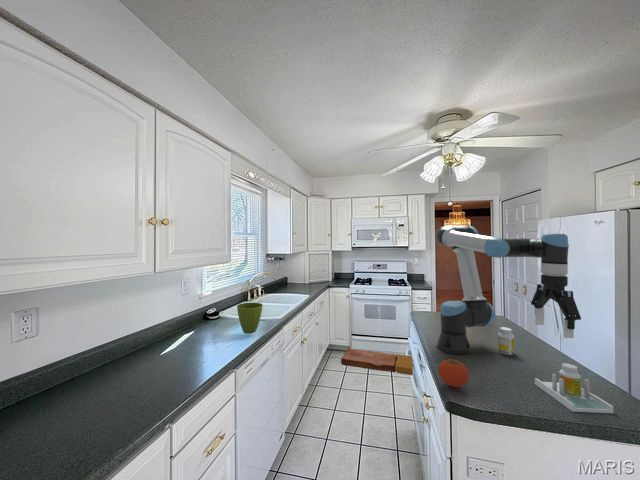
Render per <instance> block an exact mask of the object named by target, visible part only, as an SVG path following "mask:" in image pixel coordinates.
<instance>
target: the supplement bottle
mask: <svg viewBox="0 0 640 480" xmlns="http://www.w3.org/2000/svg"><path fill="white" fill-rule="evenodd" d="M578 372H579V371H578V366H576V365H574V364H571V363H564V362H562V363H561V369H560V370H559V373H558V375H559V376H558V377H559V378H562V379H564V395H566V396H569V397H573V398H580V397H581V387H582V376H581V377H580V374H579V373H578ZM559 378H558V379H559Z"/></svg>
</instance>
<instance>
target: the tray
mask: <svg viewBox="0 0 640 480" xmlns="http://www.w3.org/2000/svg"><path fill="white" fill-rule="evenodd" d="M579 375H580V374H579ZM551 377H552V378H551V381H542V380H540V379H539V378H534V385H536V386H537V387H538V388H540V389H541V390H542V391H544V392H545V393H546V394H547V395H549V396H551V397H552V398H553V399H554V400H555V401H557V402H559V403H560V404H562V405H563V406H564V407H566V408H567V409H568V410H570V411H571V412H576V413H595V414H596V413H597V414H614V405H612V404H610V403H608V402H607V401H606V400H603V399H602V398H601V397H599V396H597V395H595V394H593V393H592V392H590V379H588V378H584V380H583V381H584V384H583V385H584V386H581V397H580V398H573V397H569V396H566V395H564V379H562V378H557V377H558V375H557V374H556V373H552V374H551ZM580 377H581V378H582V375H580ZM557 379H559V380H557ZM583 387H584V388H583Z"/></svg>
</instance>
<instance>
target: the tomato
mask: <svg viewBox="0 0 640 480" xmlns="http://www.w3.org/2000/svg"><path fill="white" fill-rule="evenodd" d="M438 365H439V366H438V375H439V378H440V379H441V381H443V382H444V383H445V384H446V385H448V386H450V387H454V388H461V387H463V386H465V385H466V384H467V383H468V381H469V378H470V375H469V371H468V369H467V367H466V366H465V364H463V363H462V361H459V360H456V359H455V358H452V359H450V358H447V357H446V359H445V360H443V361H441V362H440V363H439V364H438Z"/></svg>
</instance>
